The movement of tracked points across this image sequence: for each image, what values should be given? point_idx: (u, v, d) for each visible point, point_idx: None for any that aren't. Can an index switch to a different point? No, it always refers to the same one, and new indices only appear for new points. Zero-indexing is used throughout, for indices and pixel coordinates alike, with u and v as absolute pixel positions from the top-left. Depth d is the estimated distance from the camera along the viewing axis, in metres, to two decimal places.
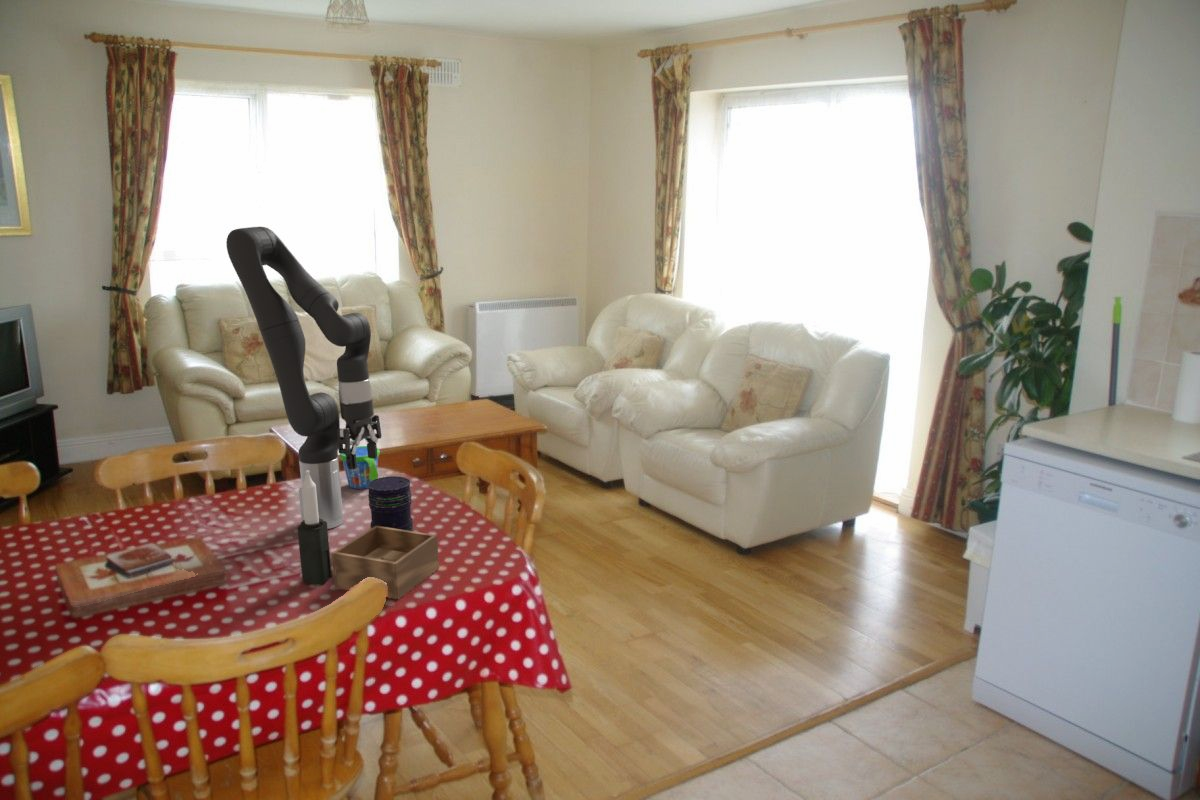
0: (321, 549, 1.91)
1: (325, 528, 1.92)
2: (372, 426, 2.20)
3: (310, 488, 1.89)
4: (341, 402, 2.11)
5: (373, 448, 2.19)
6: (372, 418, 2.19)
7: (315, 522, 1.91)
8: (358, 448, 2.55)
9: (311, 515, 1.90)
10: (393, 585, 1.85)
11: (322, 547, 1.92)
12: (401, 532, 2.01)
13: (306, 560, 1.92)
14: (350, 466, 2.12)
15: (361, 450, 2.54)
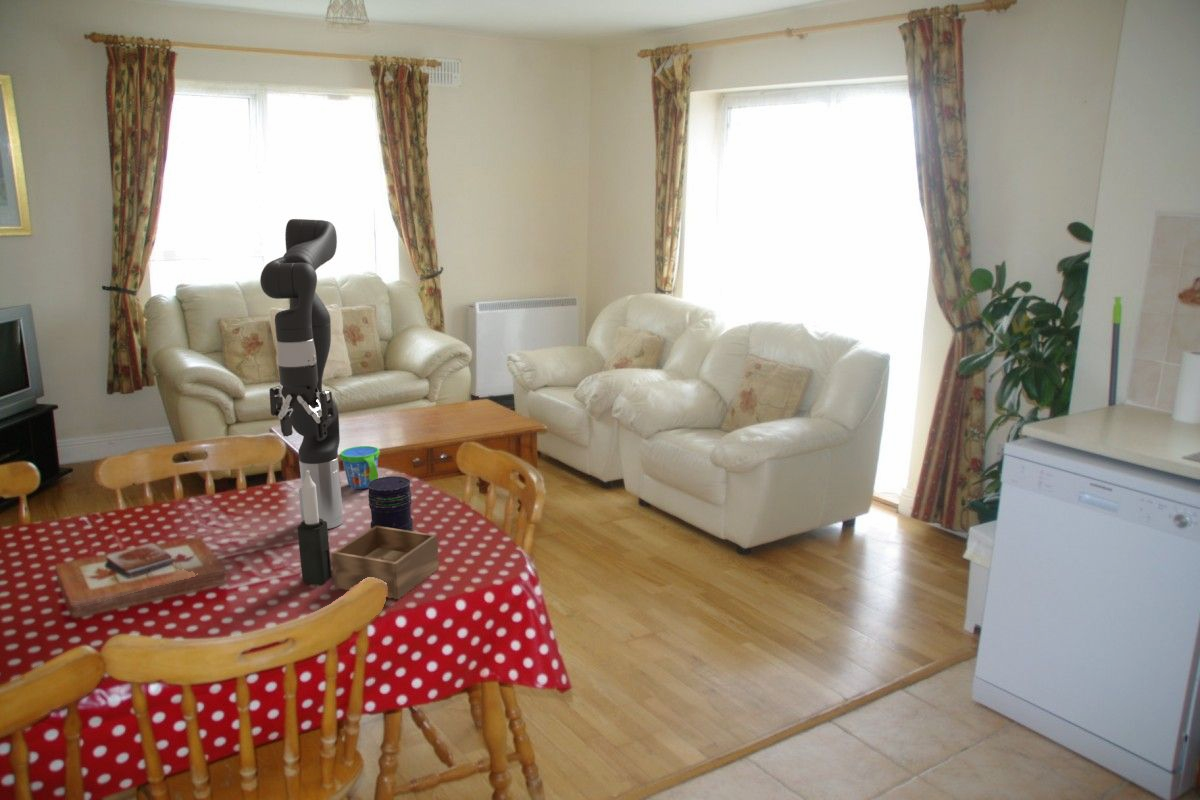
0: (321, 549, 1.91)
1: (325, 528, 1.92)
2: (277, 400, 1.87)
3: (310, 488, 1.89)
4: (304, 365, 1.81)
5: (290, 422, 1.89)
6: None
7: (315, 522, 1.91)
8: (358, 448, 2.55)
9: (311, 515, 1.90)
10: (393, 585, 1.85)
11: (322, 547, 1.92)
12: (401, 532, 2.01)
13: (306, 560, 1.92)
14: (325, 435, 1.85)
15: (361, 450, 2.54)
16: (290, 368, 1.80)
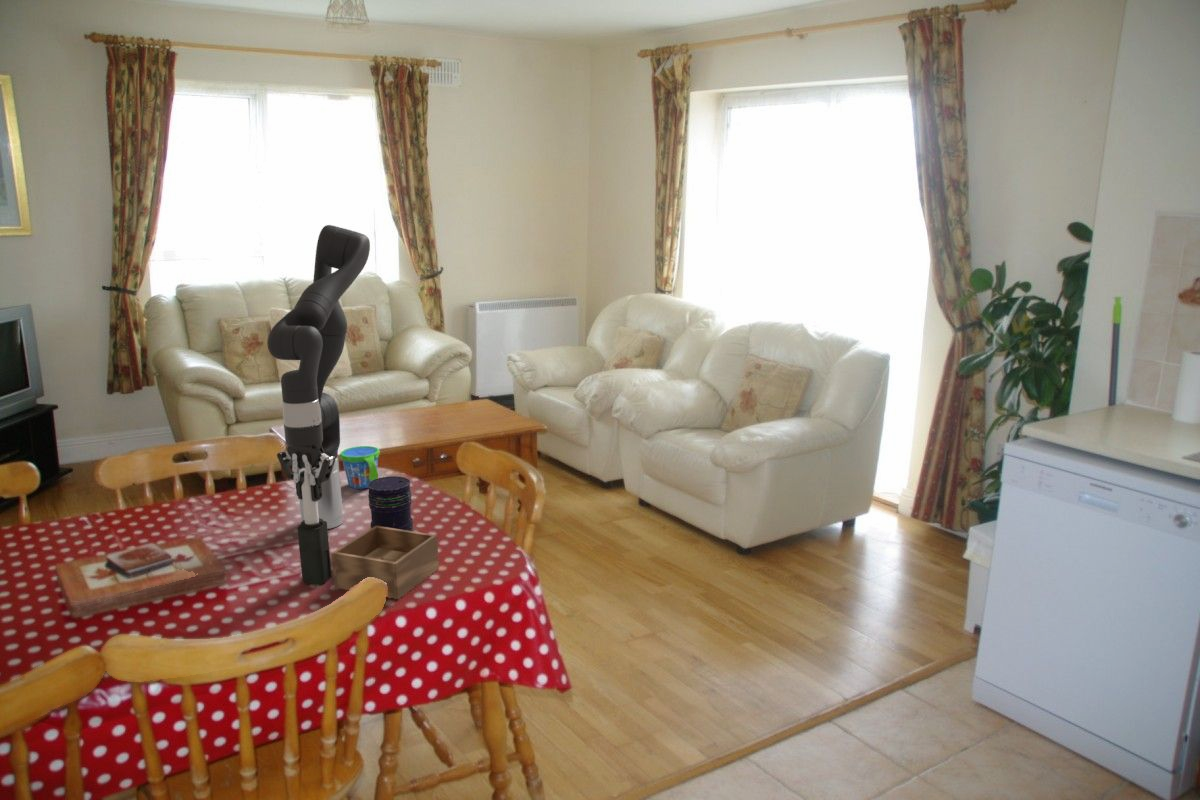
0: (321, 549, 1.91)
1: (325, 528, 1.92)
2: (288, 462, 1.90)
3: (310, 488, 1.89)
4: (309, 426, 1.84)
5: None
6: None
7: (315, 522, 1.91)
8: (358, 448, 2.55)
9: (310, 515, 1.90)
10: (393, 585, 1.85)
11: (322, 547, 1.92)
12: (401, 532, 2.01)
13: (306, 560, 1.92)
14: (320, 496, 1.90)
15: (361, 450, 2.54)
16: (296, 428, 1.83)
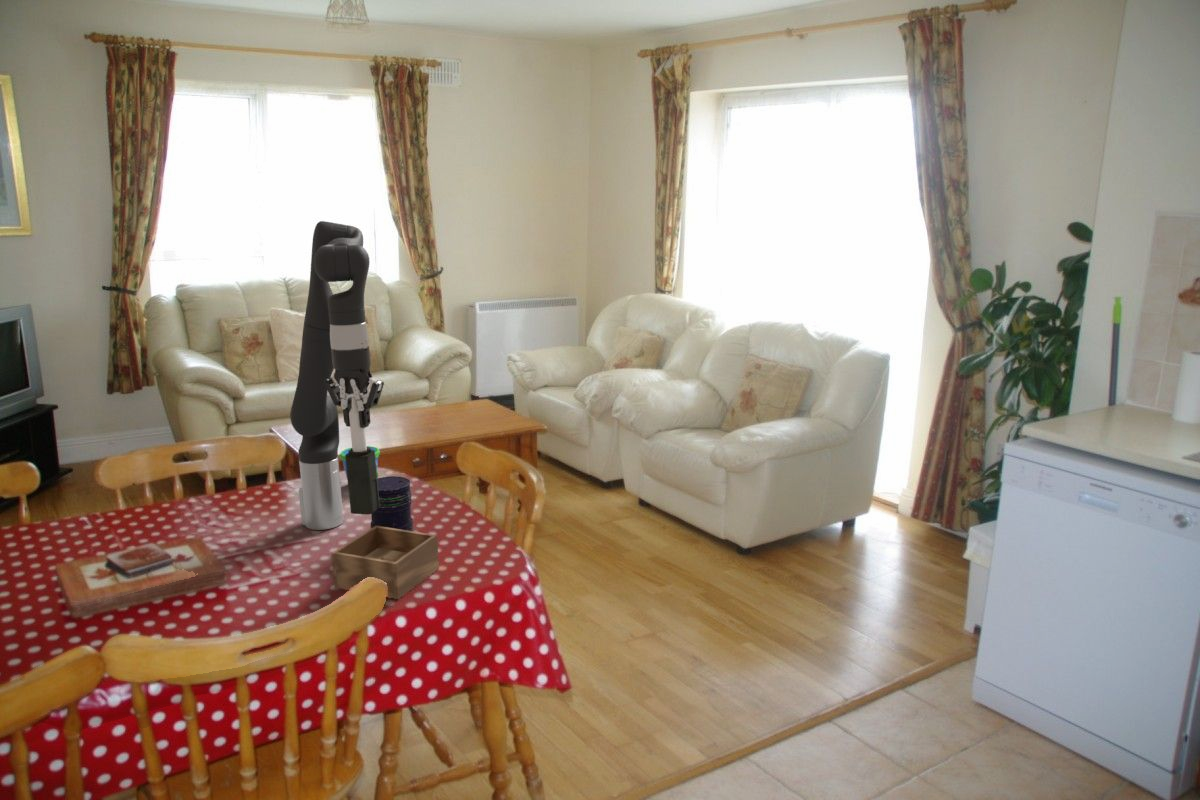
0: (369, 477, 1.88)
1: (373, 456, 1.89)
2: (335, 389, 1.87)
3: (357, 414, 1.85)
4: (357, 348, 1.80)
5: None
6: None
7: (363, 450, 1.87)
8: None
9: (359, 442, 1.86)
10: (393, 585, 1.85)
11: (371, 475, 1.88)
12: (401, 532, 2.01)
13: (354, 489, 1.88)
14: (368, 422, 1.86)
15: None
16: (344, 351, 1.79)
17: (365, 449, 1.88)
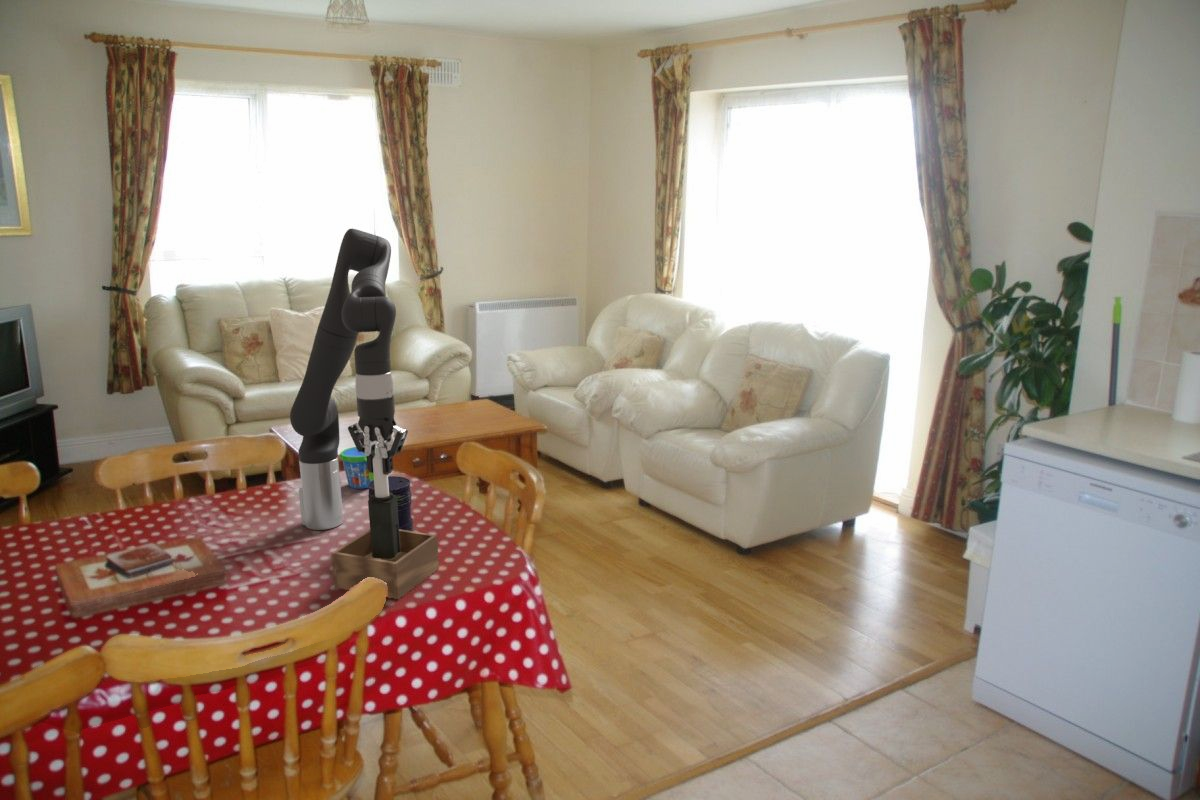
0: (391, 522, 1.91)
1: (395, 501, 1.92)
2: (359, 436, 1.89)
3: (381, 461, 1.88)
4: (382, 398, 1.83)
5: None
6: None
7: (386, 495, 1.90)
8: None
9: (382, 488, 1.89)
10: (393, 585, 1.85)
11: (393, 521, 1.91)
12: (401, 532, 2.01)
13: (376, 534, 1.91)
14: (391, 469, 1.89)
15: None
16: (370, 400, 1.82)
17: (388, 495, 1.91)
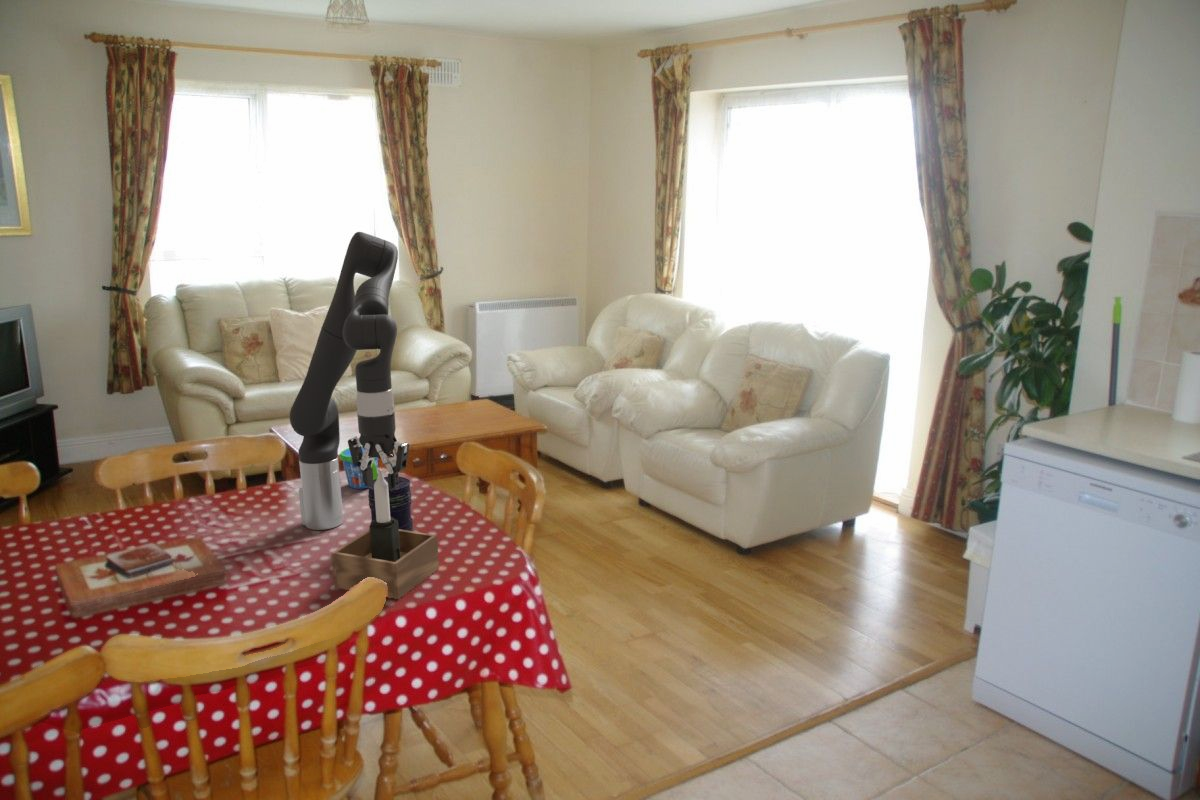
0: (393, 547, 1.92)
1: (396, 526, 1.93)
2: (357, 450, 1.90)
3: (382, 486, 1.89)
4: (383, 415, 1.84)
5: (371, 473, 1.91)
6: None
7: (387, 520, 1.91)
8: None
9: (383, 513, 1.91)
10: (393, 585, 1.85)
11: (394, 545, 1.92)
12: (401, 532, 2.01)
13: None
14: (397, 485, 1.89)
15: None
16: (370, 418, 1.83)
17: (389, 520, 1.92)
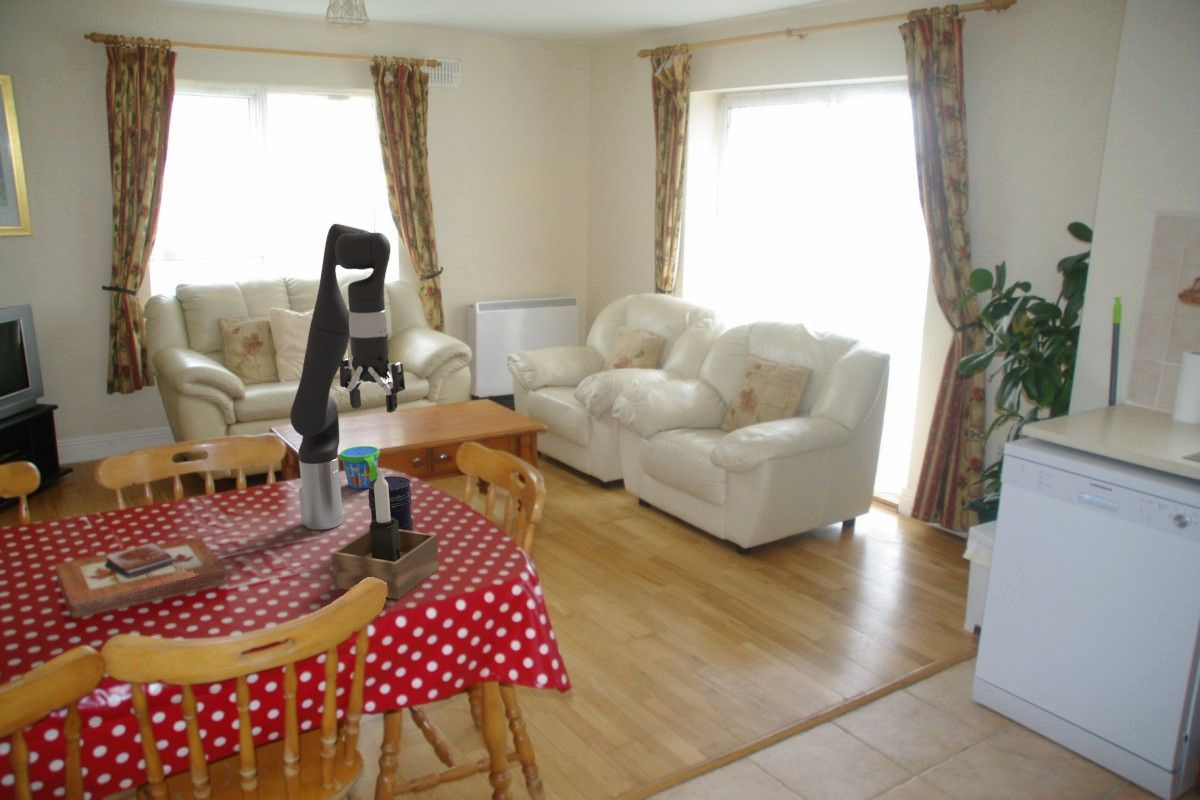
0: (393, 547, 1.92)
1: (396, 526, 1.93)
2: (347, 371, 1.86)
3: (382, 486, 1.89)
4: (376, 336, 1.80)
5: (359, 395, 1.88)
6: None
7: (387, 520, 1.91)
8: (358, 448, 2.55)
9: (383, 513, 1.91)
10: (393, 585, 1.85)
11: (394, 545, 1.92)
12: (401, 532, 2.01)
13: None
14: (395, 407, 1.85)
15: (361, 450, 2.54)
16: (363, 339, 1.79)
17: (389, 520, 1.92)
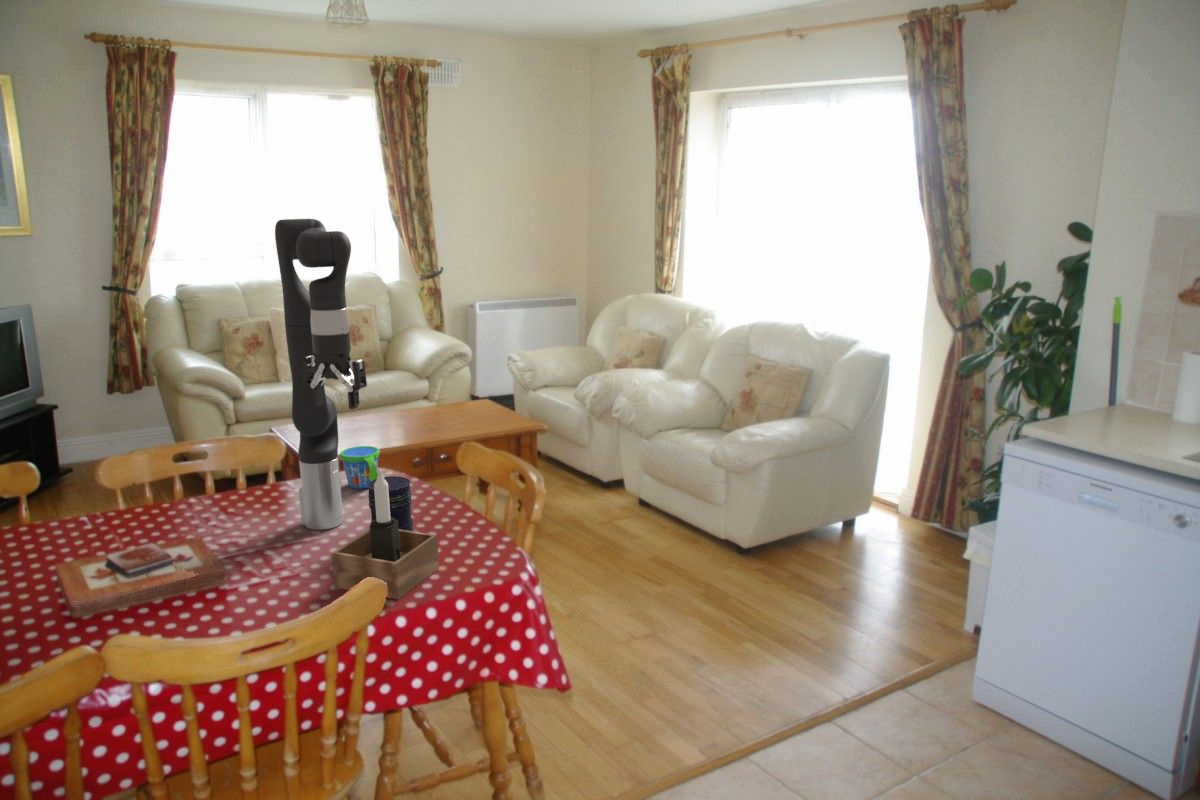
0: (393, 547, 1.92)
1: (396, 526, 1.93)
2: (310, 369, 1.88)
3: (382, 486, 1.89)
4: (337, 334, 1.82)
5: (322, 392, 1.90)
6: None
7: (387, 520, 1.91)
8: (358, 448, 2.55)
9: (383, 513, 1.91)
10: (393, 585, 1.85)
11: (394, 545, 1.92)
12: (401, 532, 2.01)
13: None
14: (357, 404, 1.87)
15: (361, 450, 2.54)
16: (324, 336, 1.81)
17: (389, 520, 1.92)
